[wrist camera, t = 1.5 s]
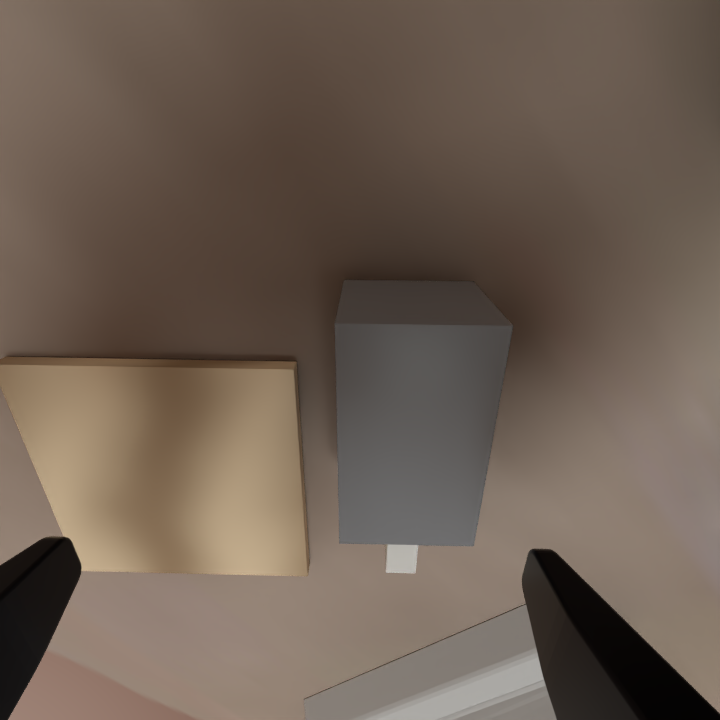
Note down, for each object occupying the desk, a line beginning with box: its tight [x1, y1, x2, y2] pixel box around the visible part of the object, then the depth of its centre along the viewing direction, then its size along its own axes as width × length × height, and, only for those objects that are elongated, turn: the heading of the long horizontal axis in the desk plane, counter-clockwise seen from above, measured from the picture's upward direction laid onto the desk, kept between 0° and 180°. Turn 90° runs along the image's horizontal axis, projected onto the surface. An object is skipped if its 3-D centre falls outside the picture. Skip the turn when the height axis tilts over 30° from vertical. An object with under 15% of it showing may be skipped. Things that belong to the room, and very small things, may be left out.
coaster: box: [0, 357, 310, 576], centre depth 16 cm, size 10×10×1 cm
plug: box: [335, 280, 513, 573], centre depth 13 cm, size 4×9×4 cm
